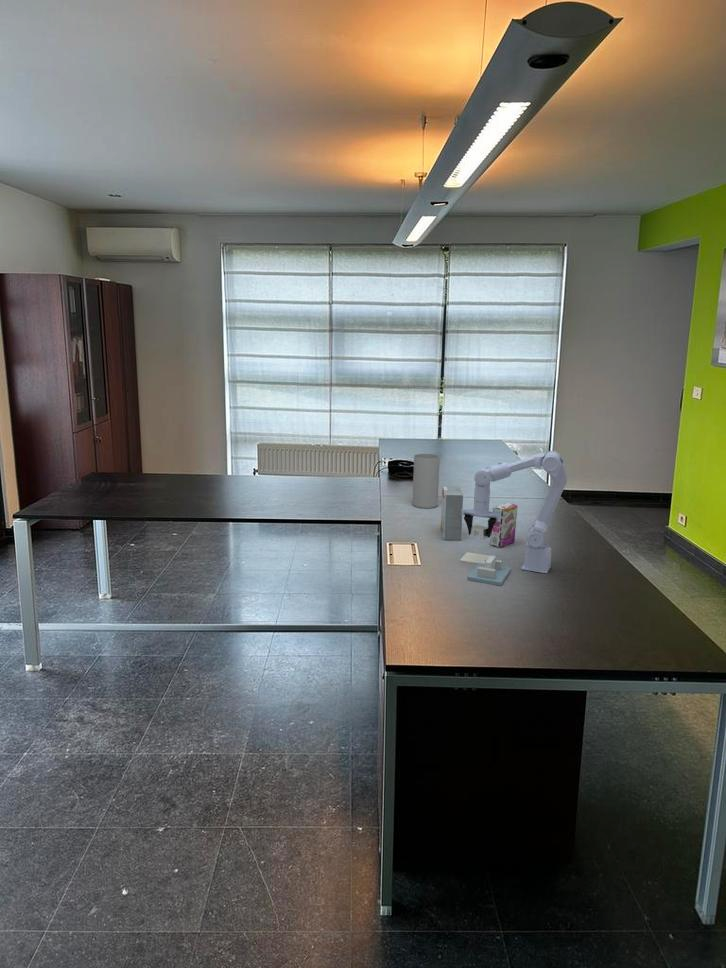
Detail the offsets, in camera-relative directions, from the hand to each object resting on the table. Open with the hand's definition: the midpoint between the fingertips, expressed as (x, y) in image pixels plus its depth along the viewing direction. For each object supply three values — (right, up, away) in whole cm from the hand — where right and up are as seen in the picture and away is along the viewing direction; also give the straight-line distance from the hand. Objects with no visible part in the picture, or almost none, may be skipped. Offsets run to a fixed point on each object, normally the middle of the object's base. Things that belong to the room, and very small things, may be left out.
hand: (479, 535), depth 255 cm
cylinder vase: (-13, +9, +81) cm, 83 cm away
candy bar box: (+14, -6, +24) cm, 28 cm away
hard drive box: (-6, -3, +34) cm, 35 cm away
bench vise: (+2, -14, -12) cm, 18 cm away
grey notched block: (0, -1, 0) cm, 0 cm away
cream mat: (0, -10, +5) cm, 11 cm away
